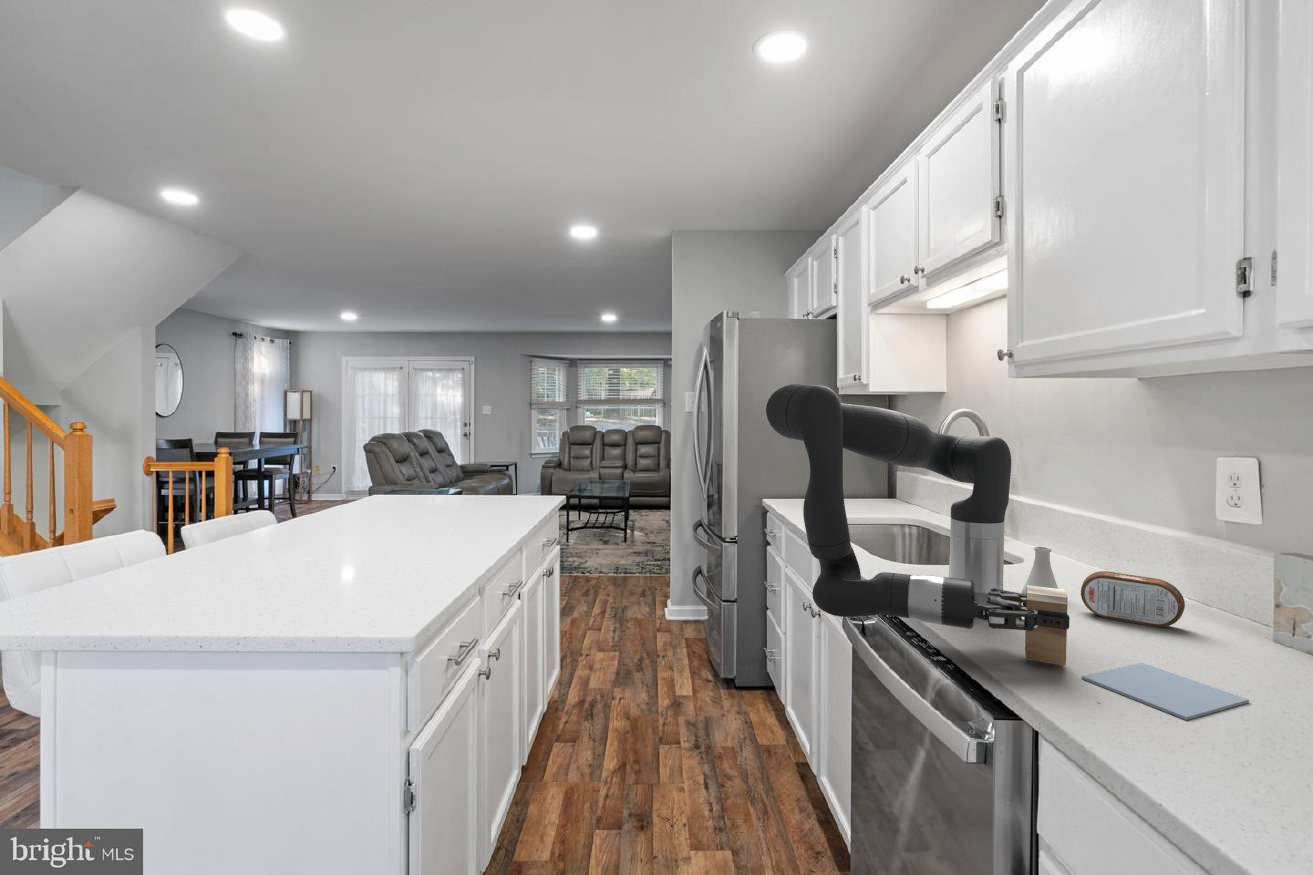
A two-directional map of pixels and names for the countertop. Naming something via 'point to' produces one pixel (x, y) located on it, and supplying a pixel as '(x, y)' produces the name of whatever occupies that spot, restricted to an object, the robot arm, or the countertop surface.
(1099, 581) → the tin
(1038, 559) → the flask
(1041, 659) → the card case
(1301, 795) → the countertop surface
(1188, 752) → the countertop surface
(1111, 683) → the mat
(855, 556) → the robot arm
